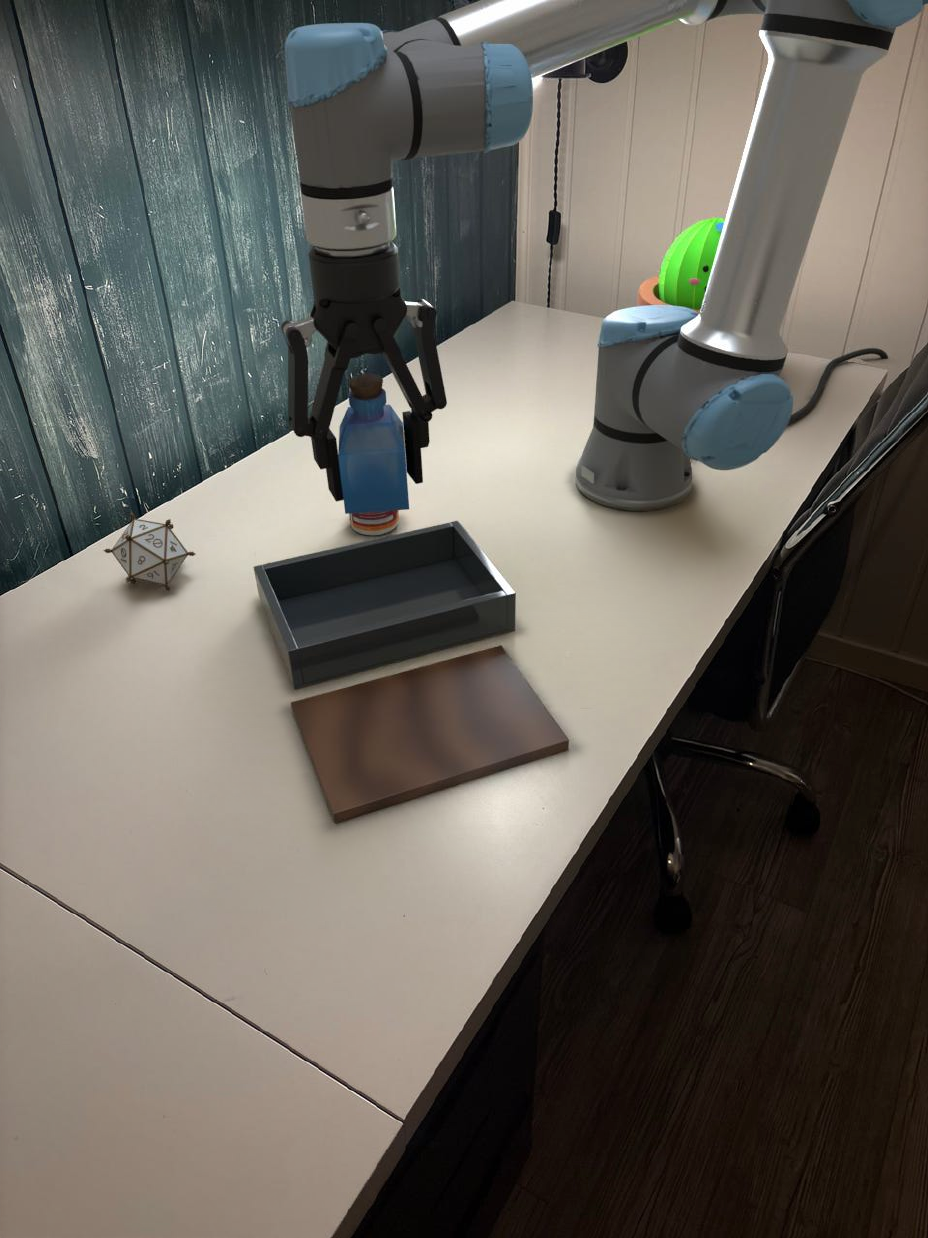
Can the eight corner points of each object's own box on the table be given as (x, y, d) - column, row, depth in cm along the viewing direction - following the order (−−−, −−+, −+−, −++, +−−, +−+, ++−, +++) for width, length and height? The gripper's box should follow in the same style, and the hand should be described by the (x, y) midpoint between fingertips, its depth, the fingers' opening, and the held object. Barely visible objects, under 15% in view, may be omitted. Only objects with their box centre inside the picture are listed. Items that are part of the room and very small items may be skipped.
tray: (458, 555, 109) (458, 520, 107) (515, 630, 98) (516, 592, 95) (260, 602, 102) (253, 566, 99) (294, 689, 90) (287, 651, 88)
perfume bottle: (346, 482, 93) (332, 369, 86) (406, 478, 94) (398, 365, 87) (345, 513, 88) (330, 396, 81) (409, 509, 89) (400, 392, 82)
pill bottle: (408, 527, 115) (403, 447, 108) (365, 542, 112) (357, 461, 106) (384, 506, 119) (377, 428, 112) (341, 521, 116) (332, 441, 110)
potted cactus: (630, 348, 162) (644, 196, 147) (758, 352, 160) (785, 198, 145) (631, 399, 145) (647, 232, 130) (774, 404, 142) (807, 235, 127)
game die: (181, 601, 109) (221, 538, 105) (135, 619, 101) (176, 552, 98) (126, 552, 110) (164, 488, 106) (77, 566, 102) (115, 497, 98)
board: (501, 653, 94) (501, 644, 94) (568, 749, 83) (569, 740, 83) (291, 711, 88) (290, 702, 87) (334, 823, 77) (333, 814, 76)
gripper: (240, 273, 71) (283, 526, 85) (481, 238, 77) (485, 481, 91) (222, 249, 77) (266, 490, 90) (449, 218, 82) (457, 449, 96)
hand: (375, 485), depth 90 cm, fingers closed on perfume bottle, 7 cm apart
